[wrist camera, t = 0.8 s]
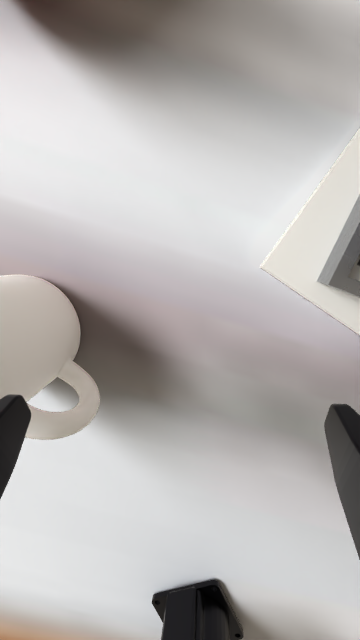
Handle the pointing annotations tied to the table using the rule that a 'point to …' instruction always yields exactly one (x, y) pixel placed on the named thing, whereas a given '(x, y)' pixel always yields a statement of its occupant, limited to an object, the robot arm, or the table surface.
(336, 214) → the plate
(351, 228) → the collar
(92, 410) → the mug
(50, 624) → the table surface
